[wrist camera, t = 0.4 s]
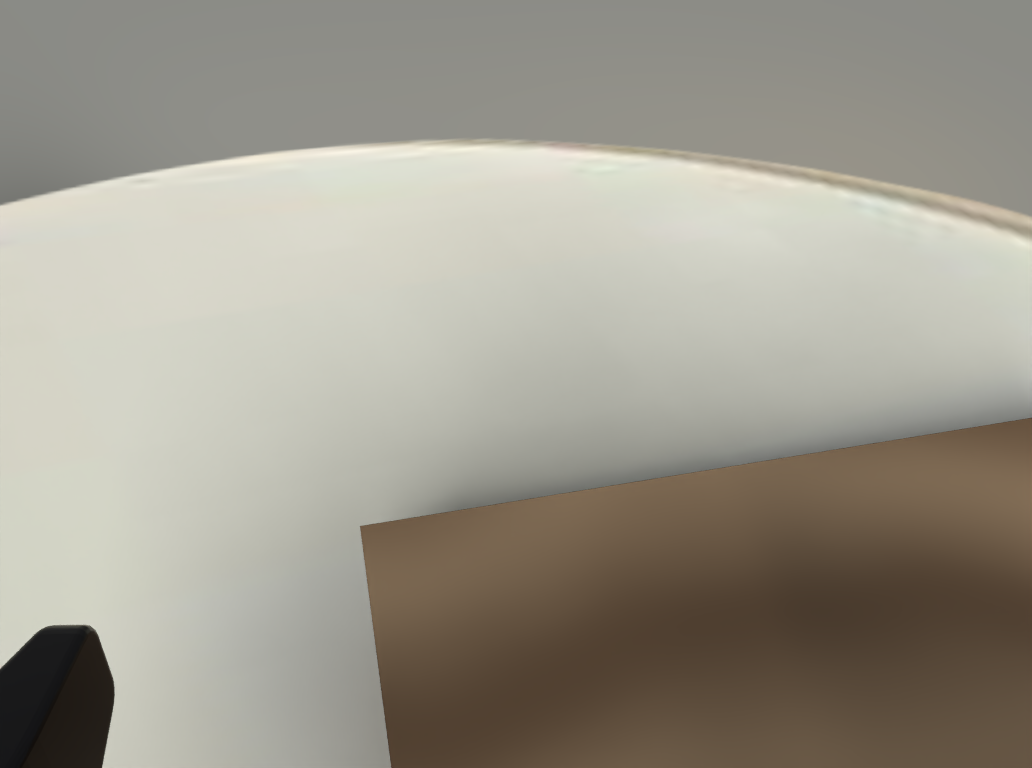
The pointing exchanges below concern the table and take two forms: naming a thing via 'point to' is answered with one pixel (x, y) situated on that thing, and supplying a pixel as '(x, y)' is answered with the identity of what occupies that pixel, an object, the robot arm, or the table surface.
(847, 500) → the low shelf
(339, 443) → the table surface
